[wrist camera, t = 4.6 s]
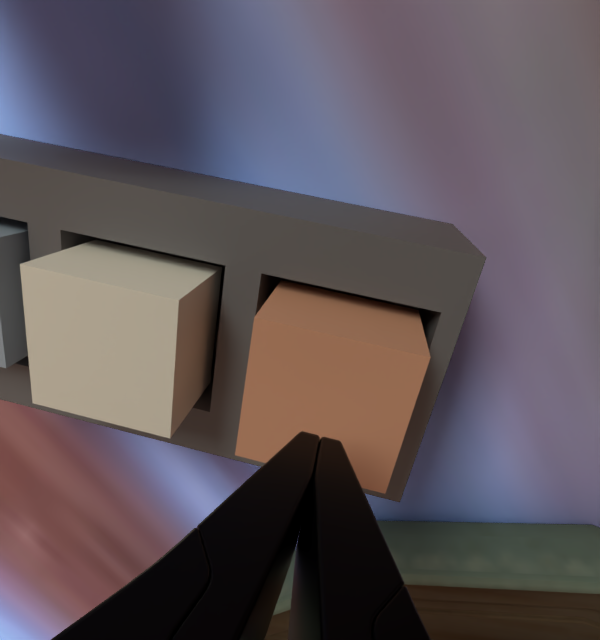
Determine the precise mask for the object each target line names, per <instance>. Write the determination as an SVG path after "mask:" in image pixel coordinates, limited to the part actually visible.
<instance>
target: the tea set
mask: <svg viewBox="0 0 600 640" xmlns="http://www.w3.org/2000/svg"><path fill="white" fill-rule="evenodd" d="M377 523H378V525H379V527H380V529H381V532H382V534H383V536H384V538H385V540H386V543H387V545H388V547H389V549H390V552H391V554H392V556H393V558H394V561H395V563H396V565H397V567H398V569H399V572H400V574H401V576H402V578H403V581H404V586H405V587H407V589H408V591H409V594H410V596H411V598H412V600H413V603H414V605H415V607H416V609H417V611H418V614H419V616H420V618H421V620H422V622H423V624H424V626H425V628H426V630H427V632H428V634H429V636H430V639H431V640H600V528H599V527H597V526H594V525H577V524H527V523H477V522H428V521H378V520H377ZM295 556H296V550H295V551H294V554H293V558H292V561H291V564H290V567H289V570H288V572H287V575H286V578H285V581H284V584H283V587H282V590H281V593H280V596H279V599H278V601H277V604H276V607H275V610H274V613H273V616H272V619H271V622H270V625H269V628H268V630H267V633H266V636H265V639H264V640H288V631H289V620H290V609H291V598H292V587H293V576H294V565H295Z"/></svg>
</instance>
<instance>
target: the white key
mask: <svg viewBox="0 0 600 640" xmlns="http://www.w3.org/2000/svg"><path fill="white" fill-rule="evenodd" d="M20 272H21V283H22V294H23V305H24V316H25V327H26V337H27V348H28V359H29V370H30V381H31V392H32V403H34V404H38V405H42V406H46V407H49V408H53V409H57V410H61V411H65V412H69V413H73V414H77V415H81V416H84V417H88V418H92V419H96V420H100V421H104V422H108V423H112V424H116V425H119V426H123V427H127V428H131V429H135V430H139V431H143V432H147V433H151V434H154V435H158V436H162V437H166V438H171V437H172V435H173V434H174V433H175V431H176V430H177V428H178V427H179V426H180V424H181V423H182V421H183V420H184V418H185V417H186V416H187V414H188V413H189V411H190V410H191V409H192V407H193V406H194V404H195V403H196V402H197V400H198V399H199V397H200V396H201V395H202V393H203V392H204V390H205V389H206V388H207V386H208V385H209V383H210V380H211V370H212V361H213V351H214V341H215V331H216V322H217V312H218V302H219V293H220V283H221V273H222V267H219V266H214V265H210V264H205V263H200V262H196V261H191V260H187V259H182V258H178V257H173V256H168V255H164V254H159V253H155V252H150V251H145V250H141V249H136V248H132V247H127V246H122V245H118V244H113V243H109V242H104V241H100V240H93V241H90V242H87V243H84V244H81V245H77V246H74V247H71V248H68V249H65V250H62V251H59V252H56V253H53V254H49V255H46V256H43V257H40V258H37V259H34V260H31V261H28V262H25V263H21V264H20Z"/></svg>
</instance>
